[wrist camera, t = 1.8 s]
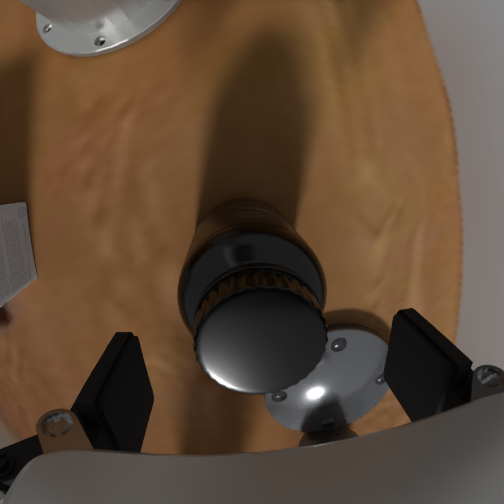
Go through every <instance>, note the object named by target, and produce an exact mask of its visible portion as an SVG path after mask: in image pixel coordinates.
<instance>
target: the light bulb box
mask: <svg viewBox="0 0 504 504" xmlns="http://www.w3.org/2000/svg"><path fill="white" fill-rule="evenodd" d="M36 278H37V273H36V268H35V262H34V257H33V251H32V245H31V239H30V232H29V225H28V217H27V207H26V202H18V203H11V204H5V205H0V307H2V306H3V305H4V304H5V303H6V302H7V301H9V300H10V299H11V298H12V297H14V296H15V295H16V294H17V293H19V292H20V291H21V290H22V289H24V288H25V287H26V286H28V285H29V284H30V283H31V282H33V281H34V280H35V279H36Z"/></svg>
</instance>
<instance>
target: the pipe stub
mask: <svg viewBox="0 0 504 504" xmlns="http://www.w3.org/2000/svg"><path fill="white" fill-rule="evenodd" d="M353 437H358V435H357V434H356V433H355V432H354V431H352V430H351V429H349V428H346V427H343V426H342V427H339V428H336V429H332V430H328V431H322V432H307V433H306V434H305V435H304V436H303V437H302V439H301V440H300V443H299V446H298V447H304V446H311V445H317V444H323V443H328V442H334V441H339V440H344V439H349V438H353Z"/></svg>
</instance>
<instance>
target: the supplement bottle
mask: <svg viewBox="0 0 504 504" xmlns="http://www.w3.org/2000/svg"><path fill="white" fill-rule="evenodd" d="M326 296H327V287H326V279H325V274H324V271H323V268H322V266H321V264H320V262H319V260H318V258H317V256H316V255H315V253H314V252H313V250H312V249H311V248H310V246H309V245H308V244H307V243H306V242H305V241H304V239H303V238H302V237H301V236H300V235H299V234H298V232H297V231H296V230H295V229H294V228H293V227H292V226H291V224H290V223H289V222H288V221H287V220H286V219H285V218H284V217H283V215H282V214H281V213H280V212H278V211H277V210H276V209H275V208H273V207H272V206H270V205H268V204H267V203H264V202H262V201H259V200H255V199H249V198H239V199H232V200H229V201H226V202H223V203H221V204H219V205H217V206H216V207H214V208H213V209H212V210H211V211H209V212H208V213H207V214H206V215H205V217H204V218H203V219H202V221H201V222H200V224H199V226H198V227H197V230H196V232H195V234H194V237H193V240H192V243H191V245H190V248H189V251H188V254H187V257H186V259H185V262H184V265H183V268H182V271H181V275H180V278H179V284H178V295H177V297H178V306H179V311H180V314H181V317H182V319H183V322H184V324H185V326H186V327H187V329H188V331H189V332H190V333H191V335H192V336H193V339H194V344H193V349H194V351H195V353H196V360H197V361H198V363H199V364H200V365H201V370H202V371H204V372H205V373H207V376H208V378H210V379H212V380H214V381H215V382H216V383H217V384H218V385H220V386H224V387H225V388H226V389H228V390H233V391H236V392H237V393H246V394H249V395H254V394H260V395H264V394H267V393H276V392H278V391H280V390H286V389H288V388H289V387H290V386H293V385H297V384H298V383H299V382H300V381H301V380H303V379H305V378H307V376H308V375H309V373H311V372H312V371H314V370H315V368H316V365H317V364H319V363H320V362H321V360H322V355H323V354H324V353H325V352H326V347H325V346H326V344H327V342H328V337H327V333H328V326H327V324H326V316H325V314H324V313H323V311H324V307H325V303H326Z"/></svg>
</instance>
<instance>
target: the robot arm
mask: <svg viewBox="0 0 504 504" xmlns="http://www.w3.org/2000/svg"><path fill="white" fill-rule="evenodd" d="M19 1H21V2H22V3H24V4H26V5H27V6H29V7H30V8H32V9H33V10H35V11H36V24H37V30H38V32H39V34H40V36H41V38H42V39H43V40H44V42H45V43H46V44H47V45H48V46H50V47H51V48H53V49H55V50H56V51H58V52H61V53H63V54H65V55H70V56H76V57H91V56H97V55H102V54H107V53H110V52H113V51H116V50H118V49H121V48H124V47H126V46H128V45H130V44H132V43H134V42H136V41H138V40H140V39H141V38H143V37H144V36H146V35H147V34H149V33H150V32H152V31H153V30H155V29H156V28H157V27H158V26H159V25H161V24H162V23H163V22H164V21H165V20H167V19H168V17H169V16H170V15H171V14H172V13H173V12H174V11H175V10H176V9H177V8H178V6H179V5H180V3H181V2H182V0H169V1H168V0H19ZM104 42H105V43H104ZM103 43H104V44H103ZM102 44H103V45H102ZM472 363H473V362H472V361H471V360H470V359H469V358H468V357H467V356H466V355H465V354H463V353H462V352H461V351H460V350H459V349H458V348H457V347H456V346H455V345H454V344H453V343H452V342H451V341H449V340H448V339H447V338H446V337H445V336H444V335H443V334H442V333H441V332H439V331H438V330H437V329H436V328H435V327H434V326H433V325H432V324H431V323H429V322H428V321H427V320H426V319H425V318H424V317H423V316H421V315H420V314H419V313H418V312H417V311H416V310H415V309H413V308H409V309H403V310H399V311H398V312H397V314H396V315H394V317H393V321H392V328H391V334H390V340H389V345H388V351H387V356H386V361H385V366H384V371H383V376H384V380H385V381H386V383H387V384H388V386H389V387H390V389H391V390H392V392H393V394H394V395H395V397H396V398H397V400H398V401H399V403H400V404H401V406H402V407H403V409H404V410H405V412H406V414H407V415H408V417H409V418H410V420H411V421H412V422H411V423H407V424H404V425H401V426H397V427H394V428H390V429H386V430H383V431H379V432H375V433H371V434H367V435H362V436H358V437H353V438H349V439H344V440H339V441H334V442H328V443H323V444H317V445H311V446H304V447H297V448H290V449H281V450H272V451H262V452H250V453H234V454H158V453H141V452H140V451H141V447H142V444H143V440H144V436H145V432H146V428H147V424H148V421H149V417H150V413H151V410H152V406H153V402H154V394H153V391H152V387H151V384H150V380H149V377H148V373H147V369H146V366H145V362H144V358H143V354H142V350H141V346H140V342H139V339H138V337H137V336H134V335H133V333H132V332H116V333H115V335H114V336H113V338H112V340H111V341H110V343H109V344H108V346H107V348H106V349H105V351H104V353H103V354H102V356H101V358H100V359H99V361H98V363H97V364H96V366H95V368H94V369H93V371H92V372H91V374H90V376H89V378H88V379H87V381H86V383H85V384H84V386H83V388H82V390H81V392H80V393H79V395H78V397H77V399H76V400H75V402H74V404H73V406H72V408H71V409H70V410H67V409H54V410H51V411H49V412H47V413H45V414H44V415H42V416H41V417H40V419H39V420H38V422H37V425H36V431H37V435H35V436H32V437H30V438H27V439H25V440H22V441H20V442H17V443H15V444H12V445H10V446H7V447H4V448H2V449H0V504H504V371H503V370H502V369H500V368H498V367H496V366H493V365H481V366H479V367H477V368H476V369H475V370H474V371H473V370H472V369H471V366H472Z"/></svg>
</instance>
